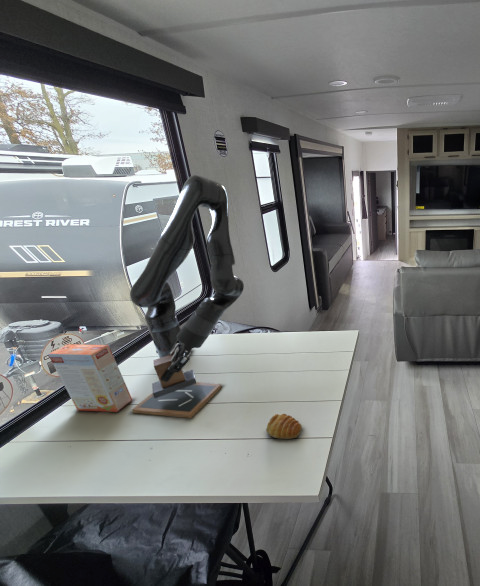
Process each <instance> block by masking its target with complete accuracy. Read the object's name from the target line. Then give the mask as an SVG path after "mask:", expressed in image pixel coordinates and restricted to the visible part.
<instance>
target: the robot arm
mask: <svg viewBox="0 0 480 586" xmlns="http://www.w3.org/2000/svg"><path fill="white" fill-rule="evenodd" d="M199 207H201V208H204V209H209V211H210V214H211V219H212V224H211V228H210V230H209V232H208V235H207V238H206V250H207V253H208V258H209V261H210V284H211V285H210V286H211V287H212V290H213V291H214V294H212V295H211V296H209V297H206V298H204V299H203V300H202V301H201V302H200V304H199V306H197V308H196V309H195V311H194V312H193V314H191V316H189V318H188V319H187V321H186V322H185V323H184V325H183V326H182V327H181V326H180V323H179V319H178V317H177V314H176V309H177V308H176V302H175V299H174V294H173V291H172V288H171V285H170V284H169V283H168V280H169V278H170V277H171V276H172V275H173V274H174V273H175V272H176V271H177V270H178V268H179V267H181V266H182V264H183V263H184V262H185V260H186V259H187V258H188V256H189V254H190V253H191V251H192V249H193V247H194V245H195V239H196V238H195V233H194V227H193V218H194V216H195V213H196V211H197V210H198V208H199ZM229 220H230V219H229V206H228V195H227V191H226V188H225V187H224V185H223V184H222V183H219V182H218V181H215V180H213V179H209V178H206V177H204V176H201V175H197V174H193V175H191V176H189V177H188V178H187V180H186V181H185V182H184V184H183V186H182V189H181V191H180V193H179V196H178V199H177V201H176V205H175V207H174V209H173V212H172V214H171V215H170V218H169V220H168V222H167V224H166V227H164V230H163V231H162V233H161V235H160V237H159V239H158V240H157V242H156V245H155V247H154V249H153V251H152V253H151V255H150V257H149V259H148V261H147V263H146V265H145V267H144V270H143V271H142V273H141V274H140V275H139V277H138V278H137V279H136V281H135V282H134V284H132V286H131V288H130V291H129V297H130V300H131V302H132V303H133V304H134V305H135V306H136V307H139V308H146V309H147V310H146V312H145V314H144V321H145V323H146V326H147V328H148V332H149V334H150V337H151V338H152V342H153V345H154V346H155V349H156V350H155V352H156V354H157V356H158V359H159V358H162V357H165V356H169V355H173V354H174V355H173V357H172V358H171V363H170V365H169V366H168V368H167V370H166V371H165V372H164V374H163V375H162V377H161V381H165V382H168V381H169V380H170V378H171V377H172V375H173V374H174V373H175V372H177V373H178V372H179V371H180V370H181V369H183V368H184V367H185V366H186V365H187V364H188V363H189V362H190V360H191V358H190V356H191V353H192V351H193V349H200V348H201V347H202V346H203V345H204V343H205V342H206V340H207V339H208V338H209V336H210V335H211V333H212V332H213V330H214V329H215V327H216V325H217V324H218V322H219V320H220V319H221V318H222V316H223V315H224V313H225V312H226V311H227V310H228V309H229V308H230V307H231V306H232V305H233V304H234V303H235V302H236V301H237V300H238V299H239V298H240V297H241V295H242V293H243V291H244V288H245V283H244V282H243V280H242V279H241V278H240V277H238V276H236V275H234V270H233V267H234V266H235V265H236V258H235V255H234V250H233V246H232V241H231V236H230V235H231V234H230V225H229V224H230V223H229ZM175 358H176V359H177V360H175ZM175 366H177V367H175Z"/></svg>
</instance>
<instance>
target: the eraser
mask: <svg viewBox="0 0 480 586" xmlns="http://www.w3.org/2000/svg"><path fill="white" fill-rule="evenodd" d="M173 355H174V354H173ZM173 355H169V356H165V357H162V358H159V357H158V358H156V359H153V368H154V371H155V373H156V375H157V378H158V381H154V382H152V383H151V385H152V386H151V387H152V393H153V396H154V398H158V397H161V396H163V395H166V394H169V393H171V392H174V391H177V390H180V389H182V388H185V387H188V386H191V385H193V384H196V383H197V379H196V375H195V372H194V369H190V370H187V371H184V369H183V368H182V369H181V370H180V371H179V372H178V373H177V372H175V373H174V374H173V375H172V377H171V378H170V380H169V381H168V382H165V381H161V377H162V375H163V374H164V372H165V371H166V370H167V368H168V366H169V365H170V363H171V358H172V357H173ZM175 360H177V359H176V358H175ZM175 367H177V366H175Z"/></svg>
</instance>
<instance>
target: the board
mask: <svg viewBox="0 0 480 586" xmlns="http://www.w3.org/2000/svg"><path fill="white" fill-rule="evenodd" d="M221 388H222V384H221V383H210V382H196V384H193V385H191V386H188V387H185V388H182V389H180V390H177V391H174V392H171V393H169V394H166V395H163V396H161V397H158V398H154V396H153V392H152V393H151V394H149V395H148V396H147V397H146V398H144V400H143V399H142V401H141V402H139V403H138V404H137V405H136V406H134V407H133V408H132V409H131V411H132V413H133V414H134V413H135V414H144V415H153V416H154V415H155V416H165V417H166V416H167V417H177V418H185V419H187V418H188V419H192V418H193V417H194V416H195V415H197V413H198V412H199V411H200V410H201V409H202V408H203V407H204V406H205V405H206V404H207V403H208V402H209V401H210V400H211V399H212V398H213V397H214V396H215V395H216V394H217V393H218V392H219V390H220V389H221Z"/></svg>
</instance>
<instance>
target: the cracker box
mask: <svg viewBox="0 0 480 586" xmlns="http://www.w3.org/2000/svg"><path fill="white" fill-rule="evenodd" d="M47 356H48V357H49V360H50V361H51V363H52V365H53V367H54V369H55V371H56V373H57V375H58V376H59V378H60V380H61V382H62V384H63V386H64V387H65V390H66V391H67V394H68V395H69V398H70V399H71V401H72V403H73V405H74V407H75V408H76V409H75V410H77V411H86V412H87V411H88V412H110V413H112V412H113V413H115V412H116V413H118V412H119V411H120V410H121V409H123V408H124V407H126V406H127V405H128V404H129V403H131V402H132V401H133V398H132V396H131V393H130V391H129V388H128V386H127V384H126V382H125V379H124V377H123V375H122V373H121V370H120V368H119V365H118V364H117V361H116V358H115V357H114V354H113V352H112V349H111V347H110V345H109V344H75V343H74V344H72V343H70V344H69V343H68V344H65V345H63V346H61V347H59V348H58V349H56V350H53V351H51V352H49V353H48V354H47Z"/></svg>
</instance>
